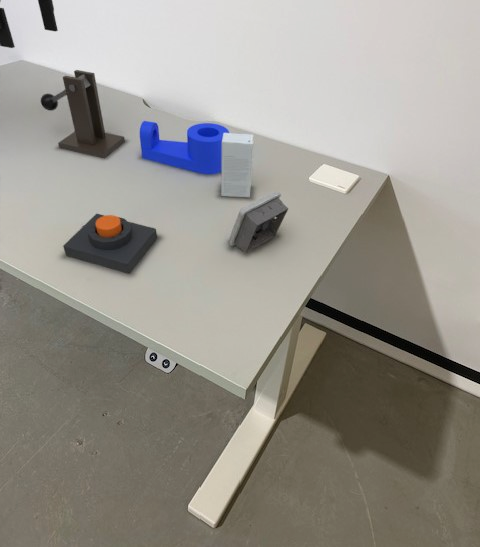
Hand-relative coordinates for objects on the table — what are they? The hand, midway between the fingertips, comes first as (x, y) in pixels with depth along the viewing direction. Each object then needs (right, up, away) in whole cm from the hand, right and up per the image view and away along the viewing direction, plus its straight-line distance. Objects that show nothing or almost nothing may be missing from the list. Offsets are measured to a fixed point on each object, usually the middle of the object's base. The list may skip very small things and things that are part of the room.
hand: (30, 38), depth 86 cm
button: (+21, -41, -15) cm, 49 cm away
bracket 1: (+8, -18, +13) cm, 24 cm away
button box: (+21, -44, -13) cm, 50 cm away
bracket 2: (+30, -23, +10) cm, 39 cm away
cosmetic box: (+42, -31, +2) cm, 53 cm away
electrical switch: (+46, -43, -10) cm, 64 cm away
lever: (+5, -10, +8) cm, 13 cm away
